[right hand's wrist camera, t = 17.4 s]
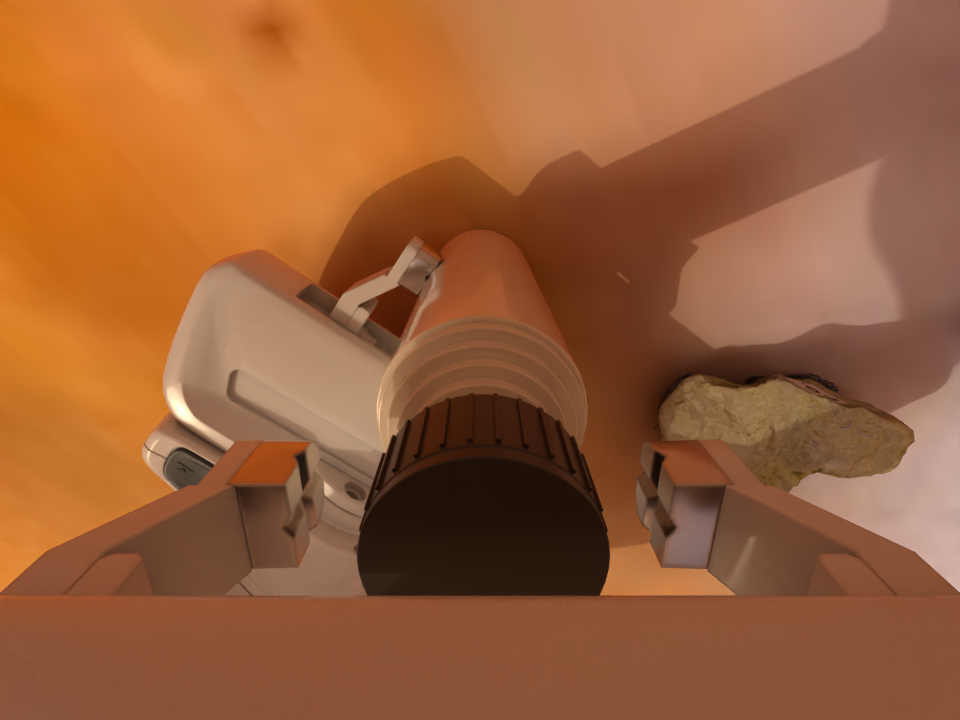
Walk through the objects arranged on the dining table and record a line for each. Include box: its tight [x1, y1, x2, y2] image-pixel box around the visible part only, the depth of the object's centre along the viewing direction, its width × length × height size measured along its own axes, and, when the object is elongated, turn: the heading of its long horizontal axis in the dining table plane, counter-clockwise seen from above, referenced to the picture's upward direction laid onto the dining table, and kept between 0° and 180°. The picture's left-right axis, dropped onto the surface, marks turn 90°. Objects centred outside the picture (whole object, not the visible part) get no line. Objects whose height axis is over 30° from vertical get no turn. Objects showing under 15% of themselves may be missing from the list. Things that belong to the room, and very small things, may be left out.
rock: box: [655, 371, 914, 493], centre depth 28 cm, size 11×6×10 cm
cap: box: [357, 393, 610, 596], centre depth 9 cm, size 4×4×2 cm
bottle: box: [376, 229, 588, 453], centre depth 18 cm, size 5×5×20 cm
